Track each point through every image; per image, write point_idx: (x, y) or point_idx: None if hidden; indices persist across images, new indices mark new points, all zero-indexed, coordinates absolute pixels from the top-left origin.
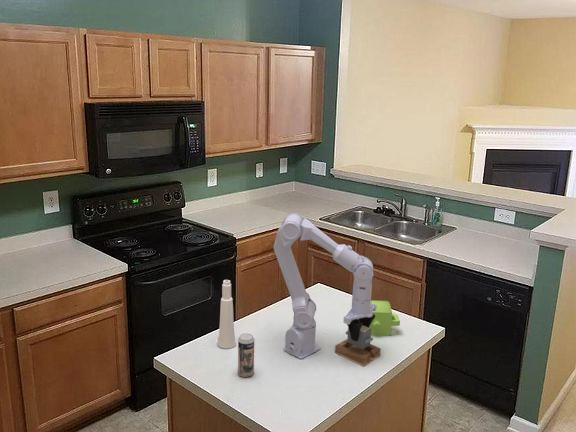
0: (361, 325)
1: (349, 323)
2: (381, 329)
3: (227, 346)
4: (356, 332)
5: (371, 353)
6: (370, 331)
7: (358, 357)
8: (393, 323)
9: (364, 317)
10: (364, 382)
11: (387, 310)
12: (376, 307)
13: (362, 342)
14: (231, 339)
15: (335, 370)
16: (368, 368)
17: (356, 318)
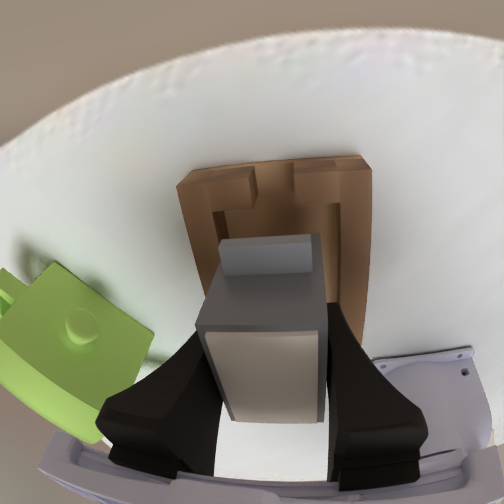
0: (349, 409)
1: (489, 455)
2: (69, 301)
3: (492, 433)
4: (366, 360)
5: (254, 191)
6: (214, 310)
7: (370, 206)
8: (15, 289)
9: (194, 445)
10: (469, 63)
11: (3, 353)
12: (45, 450)
13: (322, 267)
14: (487, 446)
15: (477, 226)
16: (353, 122)
17: (421, 502)
